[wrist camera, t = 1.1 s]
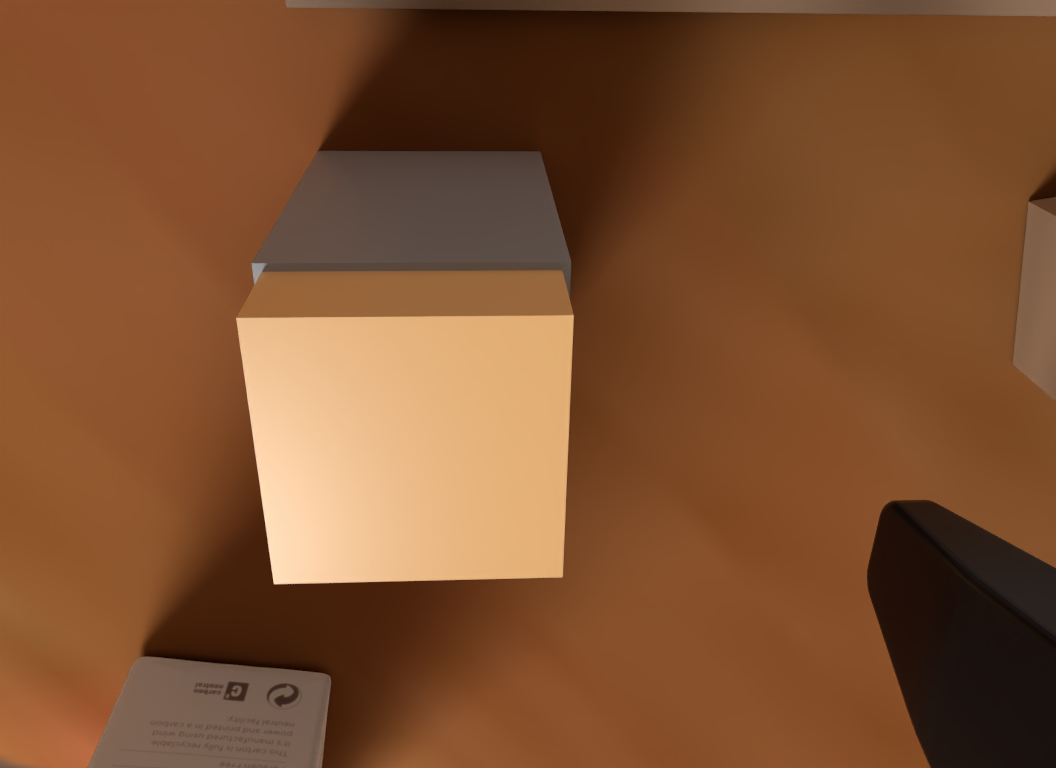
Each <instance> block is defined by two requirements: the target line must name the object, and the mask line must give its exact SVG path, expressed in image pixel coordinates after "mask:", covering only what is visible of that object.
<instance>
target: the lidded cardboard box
mask: <svg viewBox="0 0 1056 768" xmlns="http://www.w3.org/2000/svg"><path fill="white" fill-rule="evenodd" d="M252 270H253V277H254V287H253V288H252V290H251V292H250V294H249V296H248V298H247V299H246V301H245V303H244V305H243V307H242V308H241V310H240V312H239V314H238V316H237V318H236V320H237V327H238V334H239V341H240V348H241V355H242V362H243V369H244V376H245V383H246V390H247V398H248V405H249V412H250V419H251V426H252V433H253V440H254V447H255V454H256V461H257V468H258V475H259V483H260V490H261V497H262V504H263V511H264V518H265V525H266V532H267V539H268V546H269V553H270V560H271V568H272V575H273V582H274V584H305V583H346V582H388V581H429V580H471V579H512V578H553V577H563V556H564V533H565V509H566V485H567V462H568V438H569V415H570V391H571V368H572V344H573V321H574V314H573V310H572V306H571V303H570V284H571V259H570V255H569V252H568V248H567V245H566V241H565V237H564V234H563V230H562V227H561V223H560V220H559V216H558V213H557V209H556V205H555V202H554V198H553V195H552V191H551V188H550V184H549V181H548V177H547V173H546V170H545V166H544V163H543V159H542V156H541V152H540V151H318V152H317V153H316V155H315V157H314V159H313V160H312V162H311V164H310V165H309V167H308V169H307V170H306V172H305V174H304V175H303V177H302V179H301V181H300V182H299V184H298V186H297V187H296V189H295V191H294V192H293V194H292V196H291V198H290V199H289V201H288V203H287V204H286V206H285V208H284V209H283V211H282V213H281V214H280V216H279V218H278V220H277V221H276V223H275V225H274V226H273V228H272V230H271V231H270V233H269V235H268V236H267V238H266V240H265V242H264V243H263V245H262V247H261V248H260V250H259V252H258V253H257V255H256V257H255V259H254V260H253V262H252Z"/></svg>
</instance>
